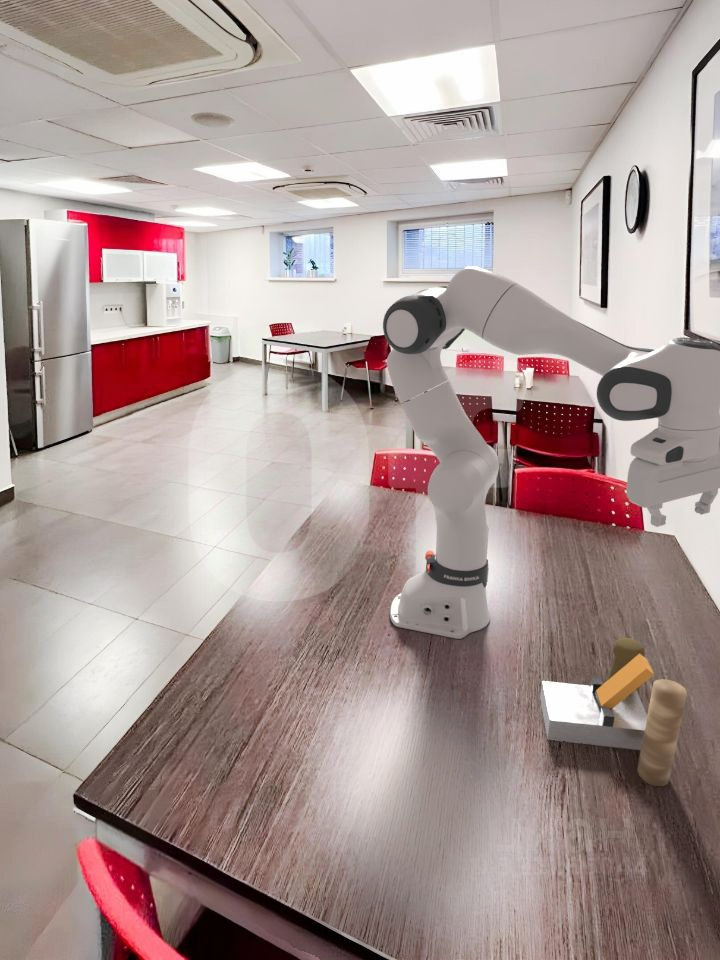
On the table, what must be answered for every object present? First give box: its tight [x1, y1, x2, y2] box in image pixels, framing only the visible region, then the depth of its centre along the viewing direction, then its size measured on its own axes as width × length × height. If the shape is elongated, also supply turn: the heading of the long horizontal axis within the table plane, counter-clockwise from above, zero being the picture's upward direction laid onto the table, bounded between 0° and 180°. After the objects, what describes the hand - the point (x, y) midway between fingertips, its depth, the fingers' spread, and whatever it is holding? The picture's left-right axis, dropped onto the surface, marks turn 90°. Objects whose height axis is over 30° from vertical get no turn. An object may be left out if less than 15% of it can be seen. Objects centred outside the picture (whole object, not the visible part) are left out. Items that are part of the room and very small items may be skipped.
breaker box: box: [539, 675, 648, 751], centre depth 99 cm, size 16×10×6 cm, turn 81°
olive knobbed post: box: [606, 637, 646, 698], centre depth 106 cm, size 6×6×11 cm
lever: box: [595, 654, 655, 711], centre depth 97 cm, size 2×4×11 cm
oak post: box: [636, 678, 688, 787], centre depth 87 cm, size 4×4×16 cm
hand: (680, 518), depth 99 cm, fingers open, 8 cm apart
